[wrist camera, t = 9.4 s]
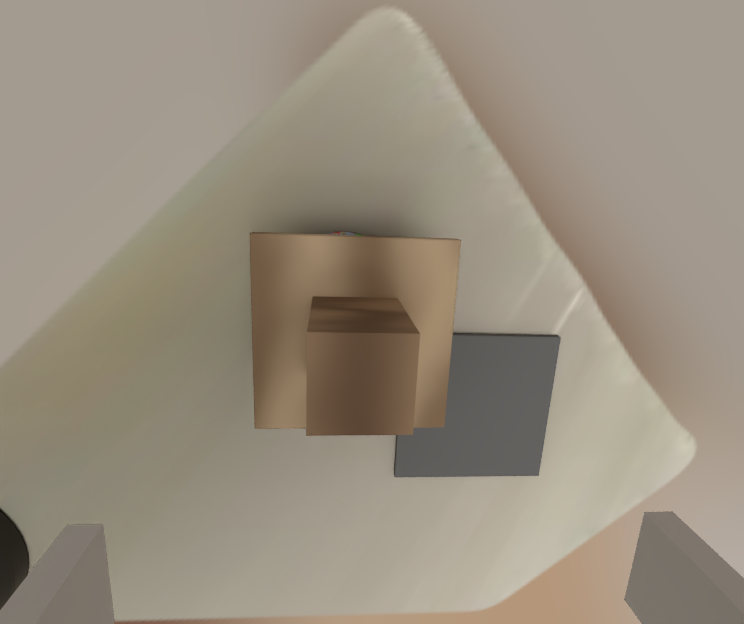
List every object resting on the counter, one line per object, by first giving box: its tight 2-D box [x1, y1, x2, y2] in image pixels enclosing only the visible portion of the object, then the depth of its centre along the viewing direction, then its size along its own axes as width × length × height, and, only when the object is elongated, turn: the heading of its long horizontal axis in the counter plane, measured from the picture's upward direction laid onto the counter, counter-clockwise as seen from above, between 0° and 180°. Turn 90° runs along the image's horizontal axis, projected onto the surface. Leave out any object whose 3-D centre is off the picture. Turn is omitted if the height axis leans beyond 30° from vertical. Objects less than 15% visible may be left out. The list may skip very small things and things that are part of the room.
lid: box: [250, 232, 461, 436], centre depth 25 cm, size 12×12×8 cm
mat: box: [394, 333, 561, 477], centre depth 42 cm, size 14×14×1 cm
